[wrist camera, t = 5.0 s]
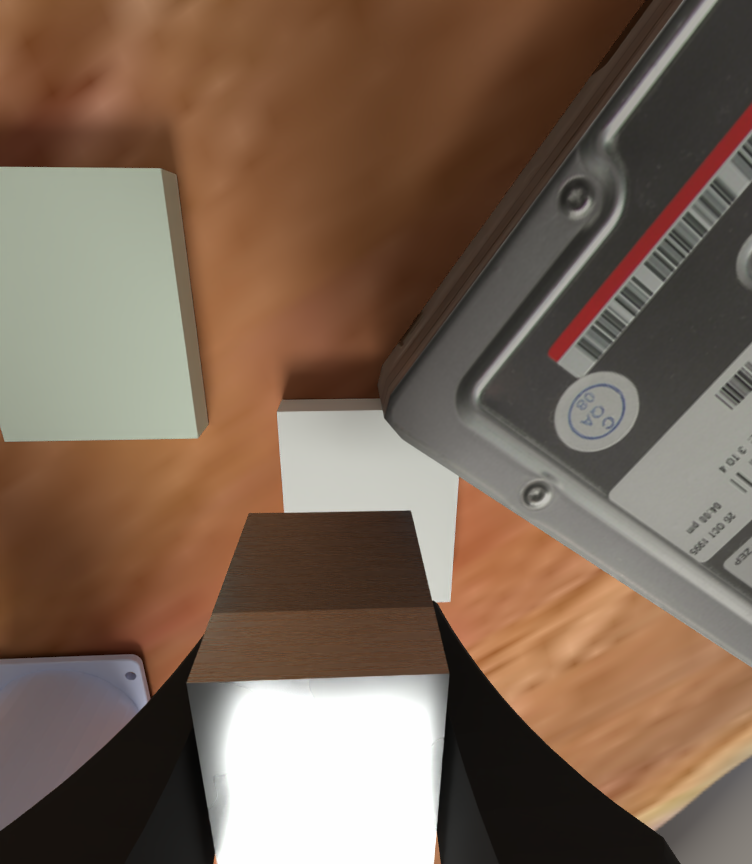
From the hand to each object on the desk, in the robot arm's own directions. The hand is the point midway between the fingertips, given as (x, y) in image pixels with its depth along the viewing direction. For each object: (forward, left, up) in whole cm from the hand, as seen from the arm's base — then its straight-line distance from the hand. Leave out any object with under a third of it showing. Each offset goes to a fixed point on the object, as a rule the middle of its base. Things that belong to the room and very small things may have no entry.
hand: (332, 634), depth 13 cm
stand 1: (+7, +9, -9) cm, 14 cm away
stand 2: (-1, -1, -9) cm, 9 cm away
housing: (0, 0, -1) cm, 1 cm away
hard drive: (+4, -18, -10) cm, 20 cm away
